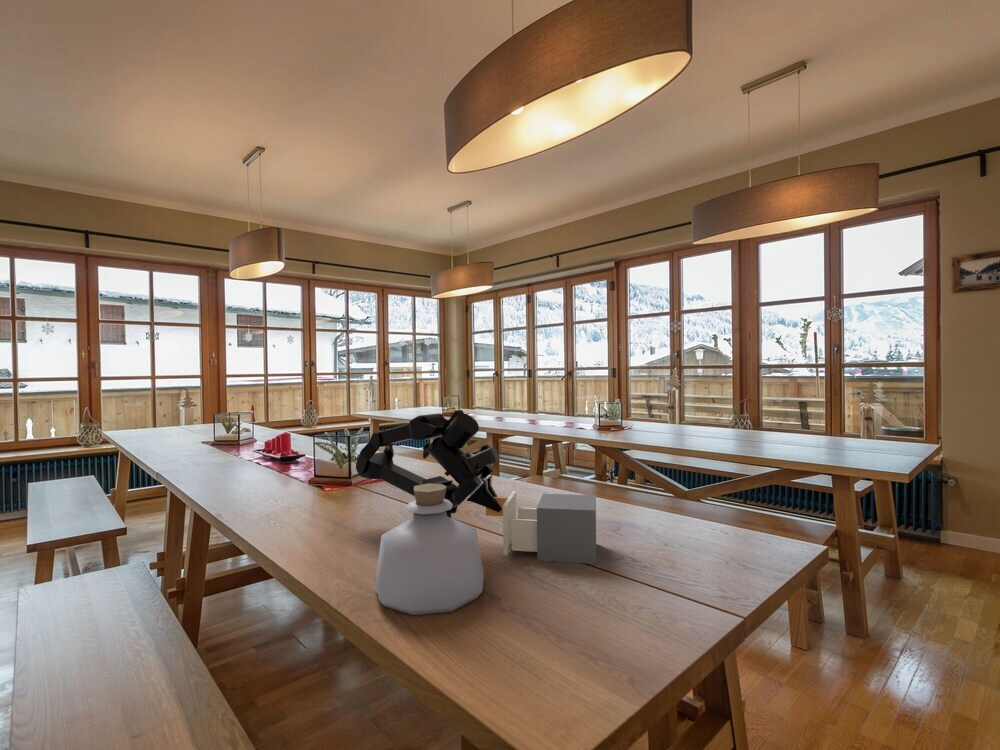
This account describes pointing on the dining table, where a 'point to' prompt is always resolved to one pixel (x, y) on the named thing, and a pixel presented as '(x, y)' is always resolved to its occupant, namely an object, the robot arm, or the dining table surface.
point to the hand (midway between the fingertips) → (501, 509)
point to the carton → (566, 528)
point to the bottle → (429, 558)
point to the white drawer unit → (516, 525)
